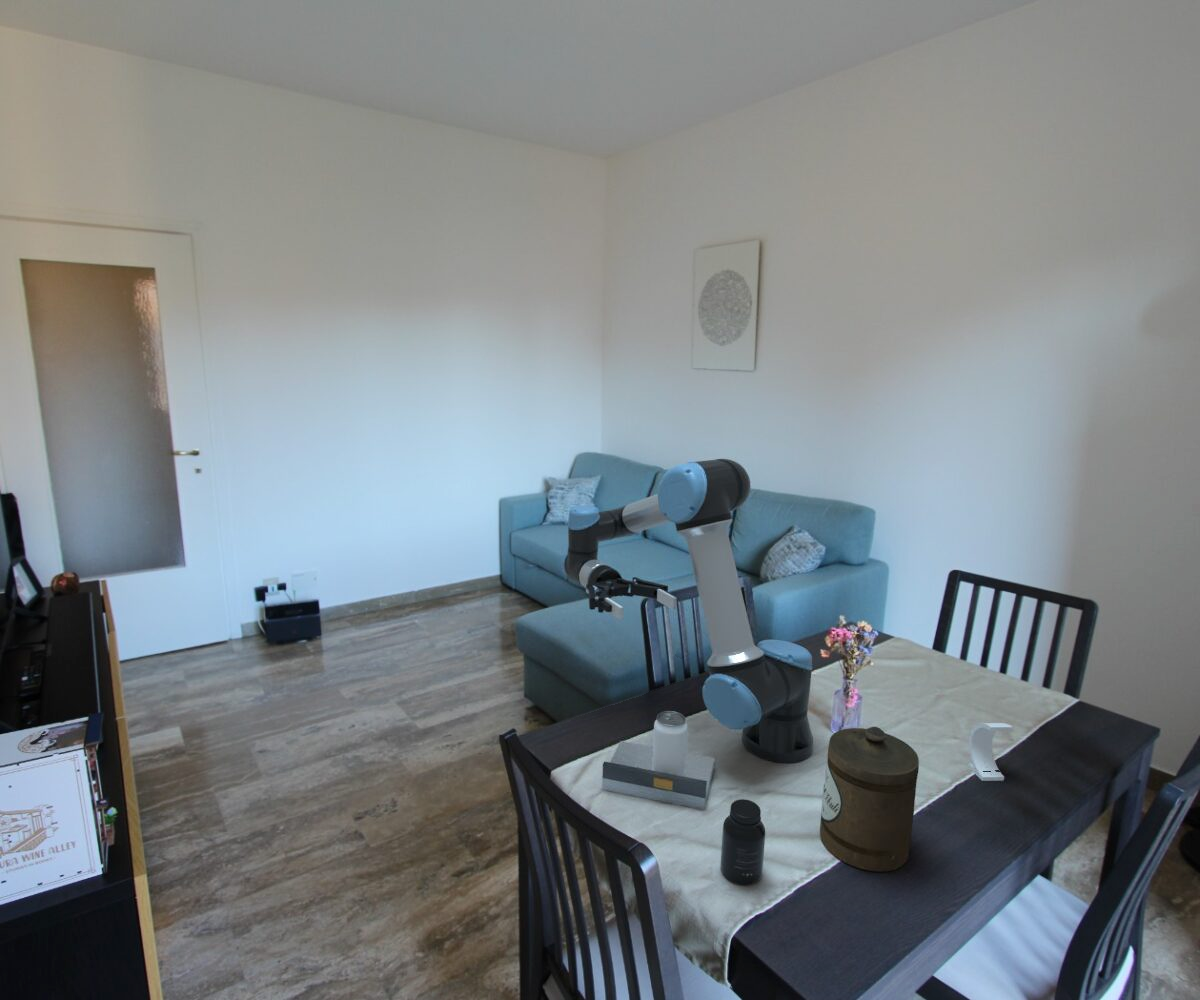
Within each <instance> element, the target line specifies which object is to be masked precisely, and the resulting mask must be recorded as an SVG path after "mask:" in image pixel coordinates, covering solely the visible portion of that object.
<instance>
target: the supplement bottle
mask: <svg viewBox="0 0 1200 1000" xmlns="http://www.w3.org/2000/svg"><path fill="white" fill-rule="evenodd" d="M729 810H730V811H729V815H727V817H726V818H725V819H724V821H723V825H722V834H721V835H722V837H721V839H722V840H721V855H720V870H721V872H722V874H723V876H725V878H726V879H727V880H728V881H730V882H732V883H734V884H737V885H741V886H748V885H753V884H755V883H757V882H758V881H759V880H760V879H761V878H762V875H763V869H764V868H763V867H764V855H765V854H764V853H765V846H766V845H765V844H766V843H765V842H766V828H765V826H764V823H763V822H762V816H761V813H762V812H761V808H760V806H759V804H757V803H756V802H755V801H753V800H751V799H750V800H749V799H744V798H741V799H737V800H734V801H733V802H732V803H731V804H730V809H729Z"/></svg>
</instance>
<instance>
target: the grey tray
mask: <svg viewBox="0 0 1200 1000" xmlns="http://www.w3.org/2000/svg"><path fill="white" fill-rule="evenodd" d="M652 758H653V745H652V746H651V745H645V744H640V743H635V742H634V743H633V742H628V741H623V740H620V741H619V744H618V745H617V747H616V750H615V752H614V753H613V755H612V758H611V759H610V762H609V761H603V762H602V776H601V777H602V778H601V779H602V782H601V784H602V786H601V790H602V791H609V792H612V793H618V794H622V795H628V796H632V797H638V798H643V799H647V800H652V801H657V802H662V803H668V804H671V805H677V806H682V807H687V808H692V809H697V810H702V811H705V809H706V805H707V801H708V796H709V793H710V789H711V788H710V787H711V783H712V779H713V774H714V770H715V759H716V758H715V757H711V756H707V755H701V754H700V755H699V754H695V753H690V752H689V753H688V752H686V762H685V775H684V777H683V776H678V775H673V774H668V773H662V772H657V771H652Z"/></svg>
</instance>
